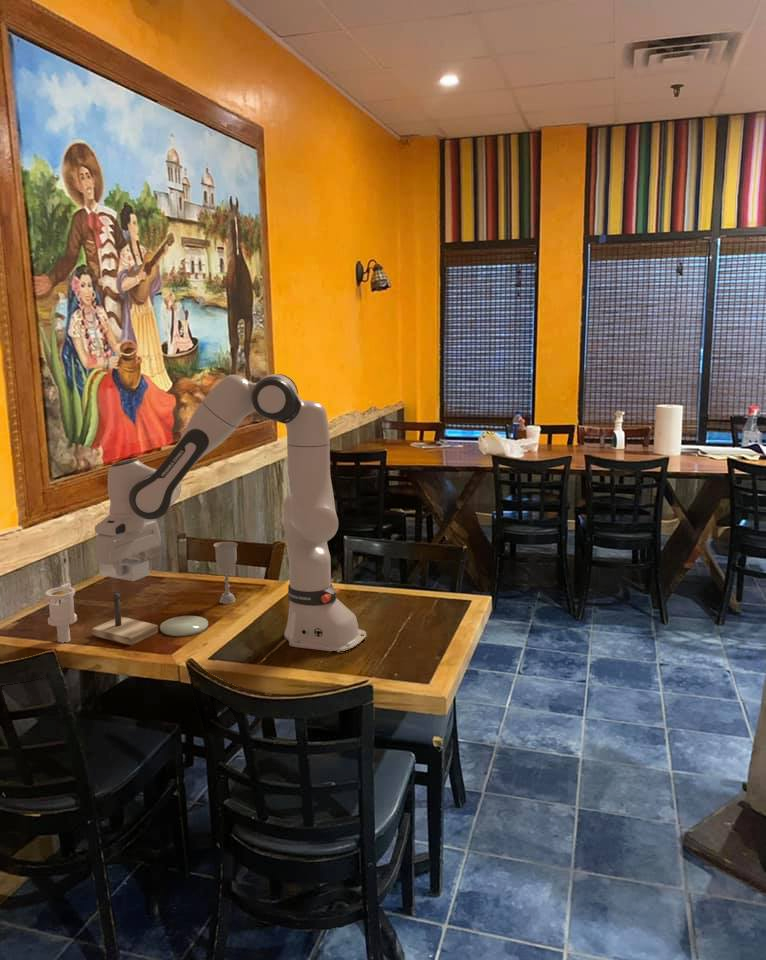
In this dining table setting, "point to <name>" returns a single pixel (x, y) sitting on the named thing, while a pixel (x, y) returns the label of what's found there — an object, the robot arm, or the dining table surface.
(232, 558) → the chalice
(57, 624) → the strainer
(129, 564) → the grey hollow block
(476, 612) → the dining table surface
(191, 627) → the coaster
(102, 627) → the stand
